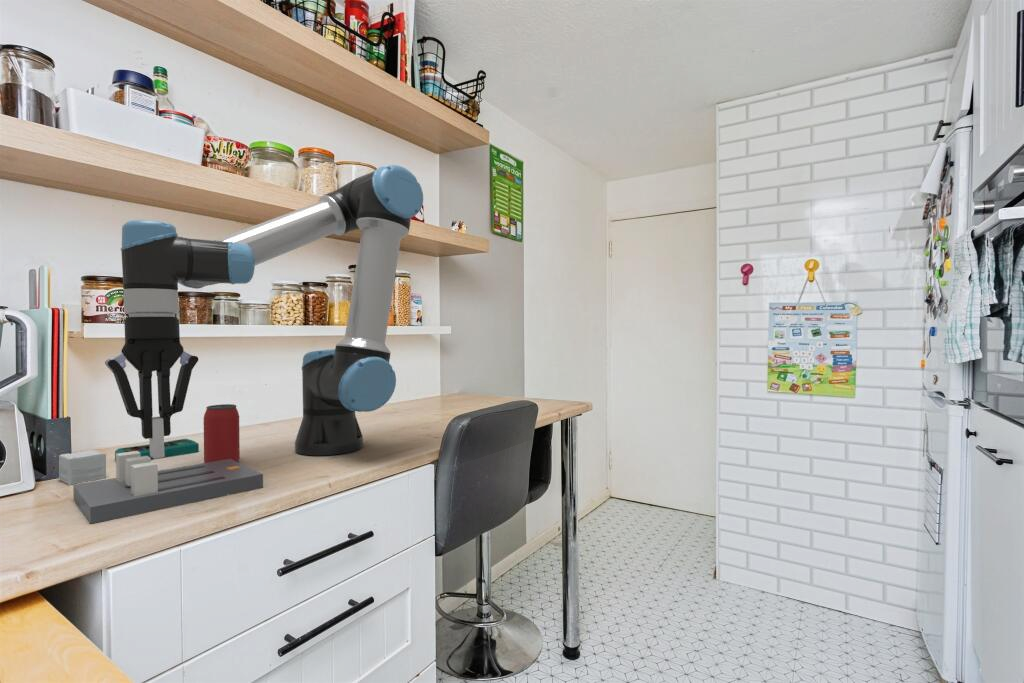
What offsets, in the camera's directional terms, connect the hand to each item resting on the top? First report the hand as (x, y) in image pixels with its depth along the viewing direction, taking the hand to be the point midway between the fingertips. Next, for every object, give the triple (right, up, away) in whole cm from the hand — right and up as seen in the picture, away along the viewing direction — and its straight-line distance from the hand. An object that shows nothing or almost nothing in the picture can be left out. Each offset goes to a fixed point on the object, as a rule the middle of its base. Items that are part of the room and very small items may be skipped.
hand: (157, 456), depth 87 cm
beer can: (-1, -6, +22) cm, 23 cm away
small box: (-21, -7, +10) cm, 24 cm away
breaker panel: (+1, -7, +2) cm, 7 cm away
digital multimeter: (-19, -7, +29) cm, 35 cm away
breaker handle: (-2, -4, -2) cm, 5 cm away
